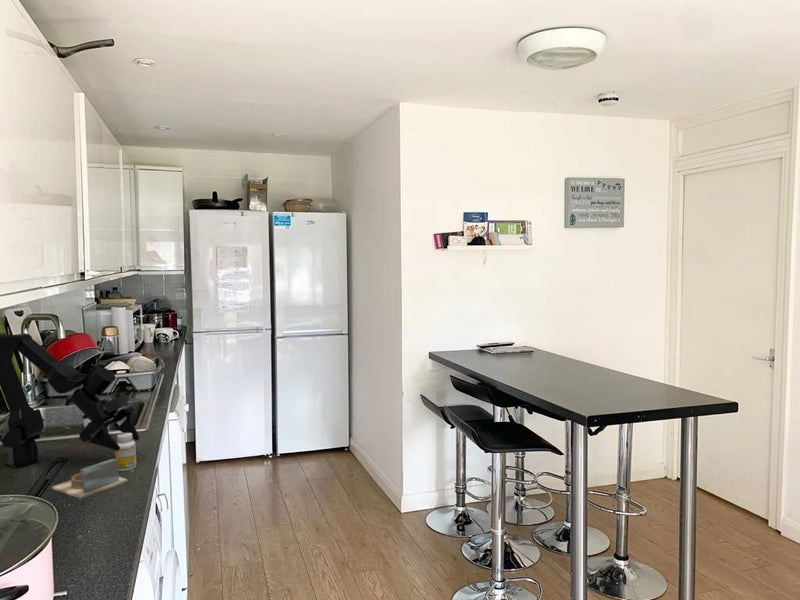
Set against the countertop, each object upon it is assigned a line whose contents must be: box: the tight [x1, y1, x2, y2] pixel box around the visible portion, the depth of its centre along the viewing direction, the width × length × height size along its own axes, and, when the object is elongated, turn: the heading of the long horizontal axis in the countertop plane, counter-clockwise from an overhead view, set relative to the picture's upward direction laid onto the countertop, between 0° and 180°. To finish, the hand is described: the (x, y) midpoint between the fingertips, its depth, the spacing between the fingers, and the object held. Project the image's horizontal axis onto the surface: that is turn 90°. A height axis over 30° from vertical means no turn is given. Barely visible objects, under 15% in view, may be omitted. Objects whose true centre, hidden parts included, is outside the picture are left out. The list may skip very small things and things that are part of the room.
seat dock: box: [51, 458, 128, 500], centre depth 158 cm, size 13×13×6 cm
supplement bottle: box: [114, 432, 137, 472], centre depth 170 cm, size 5×5×10 cm
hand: (128, 444), depth 170 cm, fingers open, 9 cm apart
